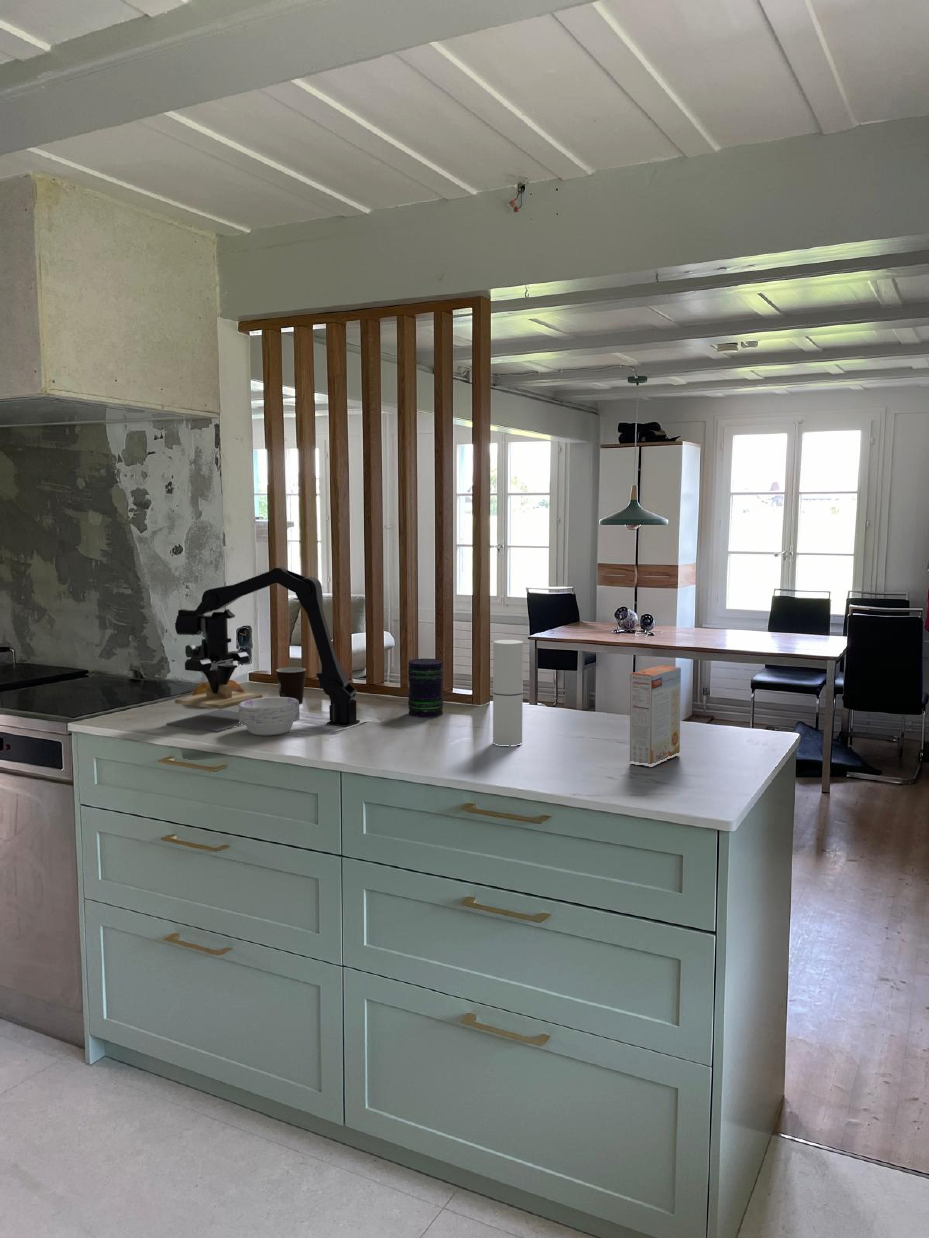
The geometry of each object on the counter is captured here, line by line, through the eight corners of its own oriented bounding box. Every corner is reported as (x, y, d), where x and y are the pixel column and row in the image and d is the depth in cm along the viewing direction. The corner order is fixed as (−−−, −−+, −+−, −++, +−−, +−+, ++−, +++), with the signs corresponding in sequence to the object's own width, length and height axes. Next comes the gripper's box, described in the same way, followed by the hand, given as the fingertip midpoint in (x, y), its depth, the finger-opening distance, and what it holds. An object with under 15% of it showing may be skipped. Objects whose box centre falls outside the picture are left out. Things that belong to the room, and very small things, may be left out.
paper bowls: (235, 727, 242) (235, 697, 241) (294, 723, 248) (293, 694, 247) (243, 740, 228) (242, 709, 227) (304, 736, 233) (304, 705, 232)
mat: (269, 717, 255) (269, 716, 254) (217, 732, 237) (217, 730, 237) (219, 711, 263) (219, 709, 263) (166, 724, 246) (166, 723, 245)
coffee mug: (303, 706, 270) (302, 672, 269) (273, 706, 270) (273, 672, 269) (310, 698, 282) (310, 666, 280) (282, 698, 282) (281, 665, 281)
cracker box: (657, 752, 218) (659, 664, 216) (680, 756, 214) (683, 666, 212) (627, 764, 207) (629, 671, 205) (651, 768, 203) (653, 674, 201)
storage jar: (449, 715, 258) (449, 662, 256) (416, 718, 253) (416, 664, 252) (434, 709, 266) (434, 657, 265) (402, 712, 262) (402, 659, 261)
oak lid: (262, 698, 253) (261, 682, 252) (220, 709, 239) (220, 692, 238) (217, 693, 260) (217, 677, 260) (175, 703, 246) (174, 686, 246)
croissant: (251, 709, 277) (254, 682, 277) (205, 709, 265) (208, 682, 265) (225, 701, 287) (228, 675, 287) (179, 701, 275) (182, 674, 275)
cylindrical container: (497, 747, 222) (498, 644, 219) (489, 741, 228) (489, 640, 226) (526, 746, 223) (527, 643, 221) (516, 739, 230) (517, 639, 228)
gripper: (218, 629, 259) (220, 684, 261) (168, 637, 243) (170, 696, 245) (249, 631, 254) (250, 688, 256) (199, 639, 238) (202, 699, 240)
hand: (218, 692), depth 249 cm, fingers closed on oak lid, 2 cm apart
